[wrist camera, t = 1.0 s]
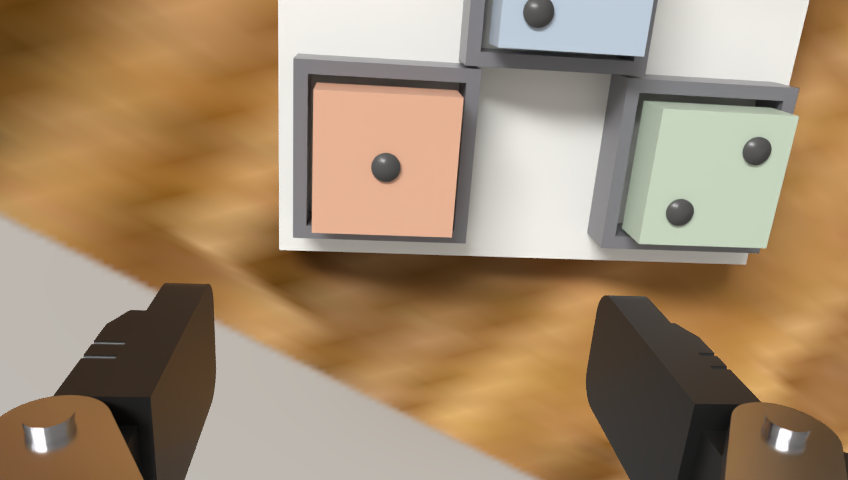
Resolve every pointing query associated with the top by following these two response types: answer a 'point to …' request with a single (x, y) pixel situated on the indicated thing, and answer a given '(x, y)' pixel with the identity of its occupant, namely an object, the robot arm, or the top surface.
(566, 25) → the button three
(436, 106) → the button one
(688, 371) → the robot arm
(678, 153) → the button two
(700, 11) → the button panel
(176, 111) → the top surface
